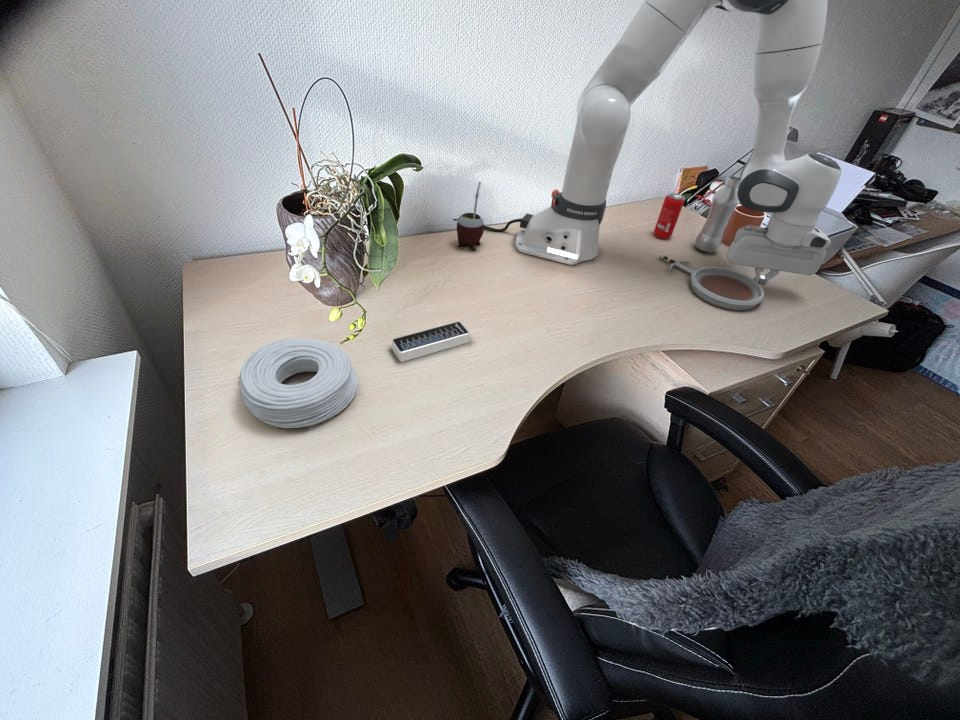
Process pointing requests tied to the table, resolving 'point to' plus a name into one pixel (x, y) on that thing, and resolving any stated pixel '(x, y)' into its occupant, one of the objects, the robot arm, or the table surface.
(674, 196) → the beverage can
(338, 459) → the table surface
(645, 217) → the table surface
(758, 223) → the mug
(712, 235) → the plastic bottle
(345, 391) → the cable
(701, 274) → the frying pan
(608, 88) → the robot arm
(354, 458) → the table surface
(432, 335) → the multiport hub
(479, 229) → the mate gourd
